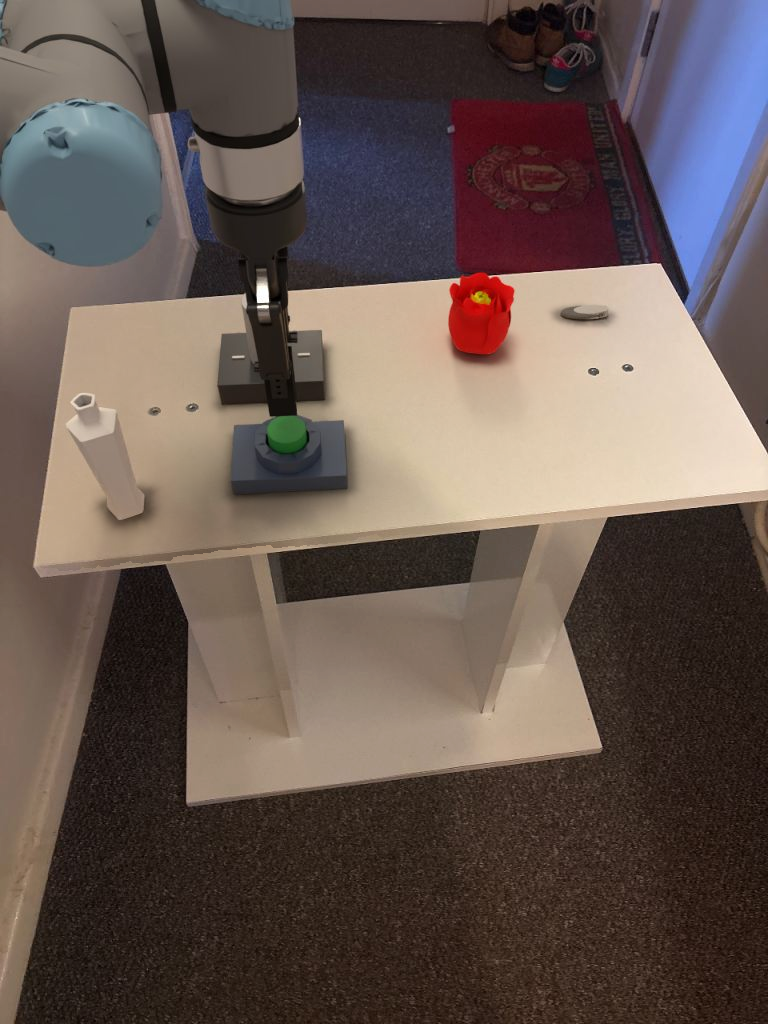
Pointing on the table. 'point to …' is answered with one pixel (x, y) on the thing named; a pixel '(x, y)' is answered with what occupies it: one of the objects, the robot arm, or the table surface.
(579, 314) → the oval pebble
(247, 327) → the dial
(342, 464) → the button block
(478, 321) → the flower
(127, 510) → the perfume bottle
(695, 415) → the table surface
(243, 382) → the dial panel
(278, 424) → the button
